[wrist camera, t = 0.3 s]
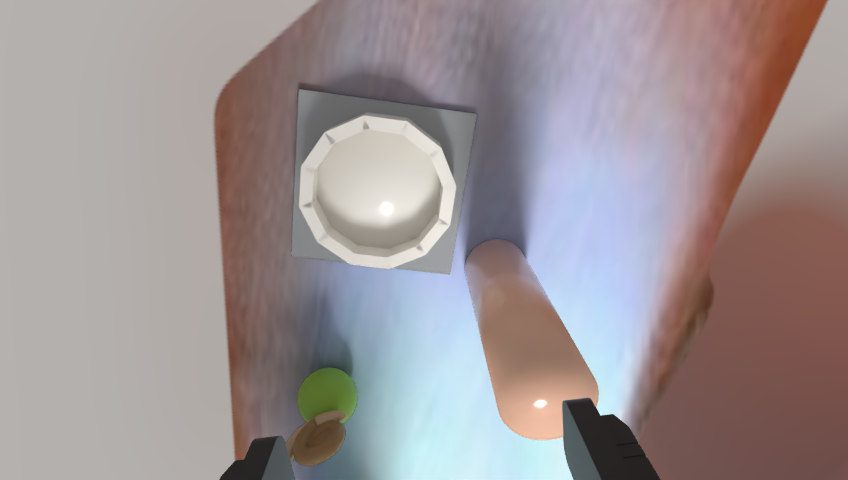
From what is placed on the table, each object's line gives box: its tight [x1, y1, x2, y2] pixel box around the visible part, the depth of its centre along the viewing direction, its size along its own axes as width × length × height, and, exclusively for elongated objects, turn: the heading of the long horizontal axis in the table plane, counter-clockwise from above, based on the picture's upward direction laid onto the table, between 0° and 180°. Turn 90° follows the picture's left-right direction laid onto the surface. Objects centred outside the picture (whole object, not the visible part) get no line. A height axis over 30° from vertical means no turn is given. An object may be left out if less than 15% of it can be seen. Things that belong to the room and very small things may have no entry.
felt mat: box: [291, 89, 477, 275], centre depth 40 cm, size 14×14×1 cm
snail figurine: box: [285, 368, 357, 466], centre depth 41 cm, size 5×6×12 cm
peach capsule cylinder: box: [465, 239, 599, 440], centre depth 34 cm, size 6×6×18 cm
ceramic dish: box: [299, 112, 456, 269], centre depth 39 cm, size 12×12×3 cm
